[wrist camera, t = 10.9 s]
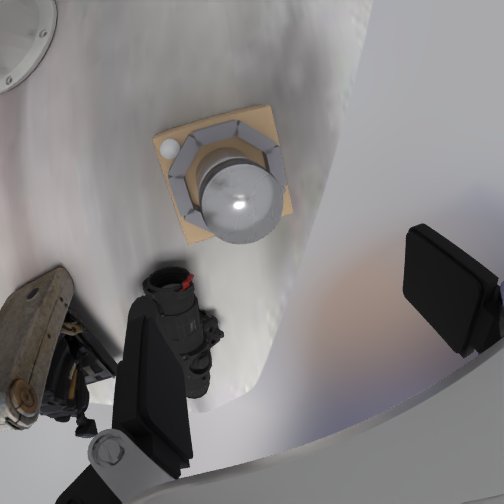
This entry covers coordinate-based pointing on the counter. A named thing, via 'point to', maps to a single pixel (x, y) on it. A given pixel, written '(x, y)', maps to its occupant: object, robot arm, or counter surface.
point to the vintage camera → (48, 357)
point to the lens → (237, 196)
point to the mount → (206, 140)
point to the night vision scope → (180, 324)
